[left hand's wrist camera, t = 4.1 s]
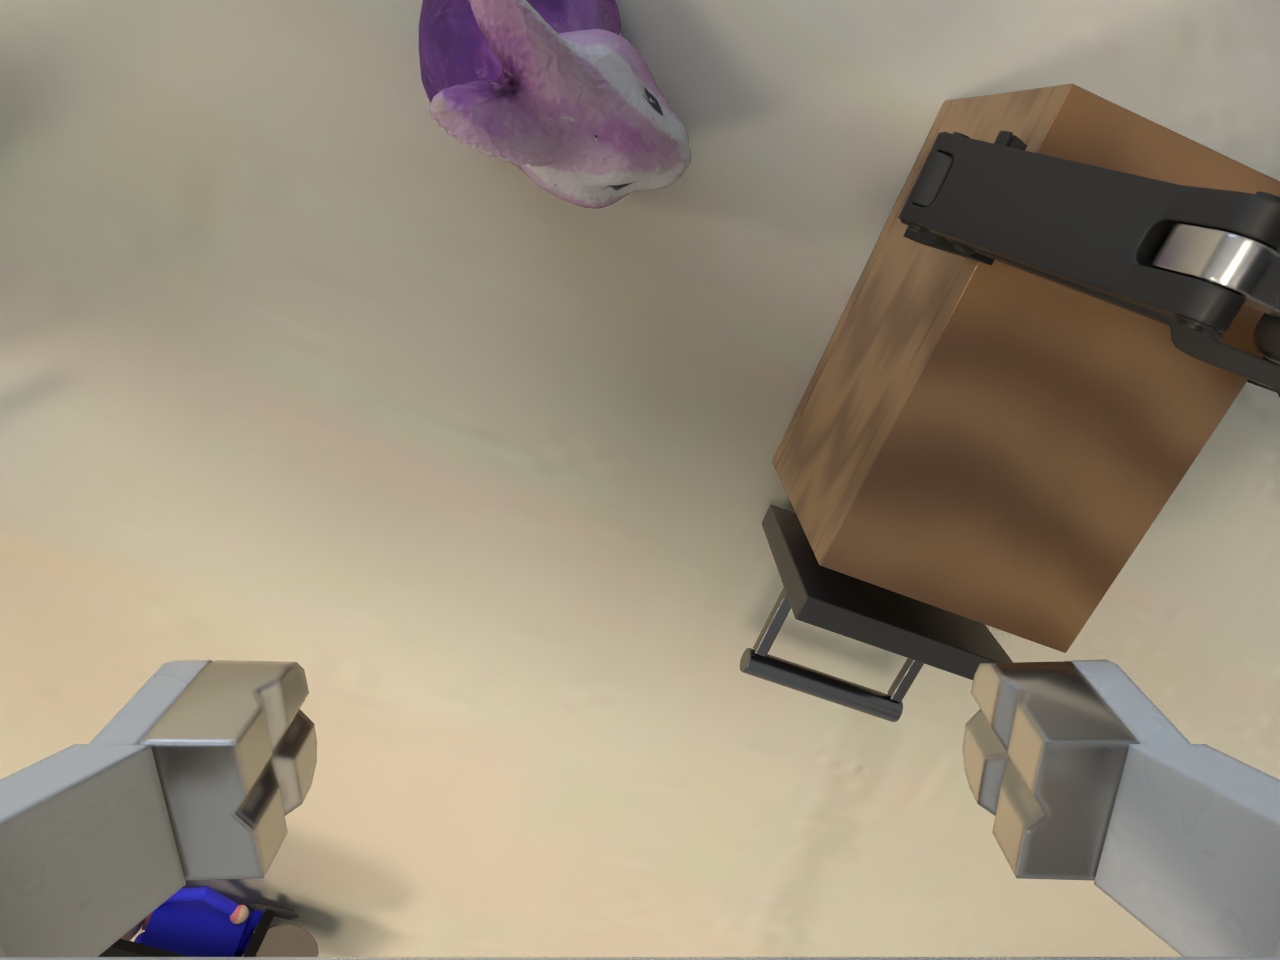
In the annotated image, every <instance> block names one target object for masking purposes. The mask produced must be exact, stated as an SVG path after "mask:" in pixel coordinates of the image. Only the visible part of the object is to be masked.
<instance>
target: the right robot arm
mask: <svg viewBox="0 0 1280 960" xmlns="http://www.w3.org/2000/svg"><path fill="white" fill-rule="evenodd" d="M1027 146H1028V145H1027V144H1024V142H1023V141H1022V140H1020V139H1019V138H1018V137H1017V136H1015V135H1013V133H1012V132H1009V131H999V133H998V135H997V137H996V139H995V141H994V143H989V142H985V141H980V140H976V139H971V138H970V137H968V136H966V135H964V134H961V133H958V132H953V134H950V133H947V132H939V133H938V135H937V137H936V139H935V141H934V143H933V145H932V147H931V149H930V152H929V154H928V156H927V158H926V160H925V162H924V164H923V166H922V168H921V170H920V172H919V175H918V177H917V179H916V181H915V183H914V185H913V187H912V189H911V191H910V193H909V195H908V198H907V200H906V202H905V204H904V206H903V208H902V210H901V212H900V214H899V216H898V218H899V219H900V220H901V221H900V222H901V223H903V224H906V225H908V227H907V229H906V231H905V233H904V235H903V236H904V237H906V238H908V239H911V240H913V241H915V242H918V243H920V244H923V245H926V246H929V247H933V248H936V249H939V250H943V251H946V252H949V253H952V254H956V255H959V256H962V257H965V258H969V259H972V260H975V261H979V262H982V263H985V264H988V265H992V264H993V262H994V260H997V261H1000V262H1002V263H1005V264H1008V265H1010V266H1013V267H1016V268H1018V269H1021V270H1024V271H1026V272H1029V273H1031V274H1034V275H1037V276H1039V277H1042V278H1045V279H1047V280H1050V281H1053V282H1055V283H1058V284H1060V285H1063V286H1066V287H1068V288H1071V289H1074V290H1076V291H1079V292H1082V293H1084V294H1087V295H1090V296H1092V297H1095V298H1097V299H1100V300H1103V301H1105V302H1108V303H1111V304H1113V305H1116V306H1119V307H1121V308H1124V309H1126V310H1129V311H1132V312H1134V313H1137V314H1140V315H1142V316H1145V317H1148V318H1150V319H1153V320H1156V321H1158V322H1161V323H1163V324H1166V325H1169V326H1170V331H1171V341H1172V342H1173V344H1174V345H1175V347H1176V348H1178V349H1179V350H1181V351H1182V352H1184V353H1186V354H1188V355H1190V356H1191V357H1193V358H1195V359H1198V360H1200V361H1203V362H1205V363H1208V364H1211V365H1213V366H1216V367H1218V368H1221V369H1223V370H1226V371H1228V372H1231V373H1233V374H1236V375H1238V376H1241V377H1243V378H1246V379H1248V381H1247V382H1249V383H1252V384H1255V385H1258V386H1260V387H1263V388H1266V389H1268V390H1271V391H1274V392H1277V393H1278V395H1279V397H1280V197H1278V196H1276V195H1273V194H1270V193H1266V192H1256V194H1251V193H1245V192H1237V191H1229V190H1220V189H1211V188H1202V187H1193V186H1184V185H1178V184H1173V183H1169V182H1165V181H1160V180H1156V179H1151V178H1147V177H1142V176H1138V175H1133V174H1129V173H1124V172H1120V171H1115V170H1111V169H1106V168H1102V167H1097V166H1093V165H1088V164H1084V163H1079V162H1075V161H1070V160H1066V159H1061V158H1057V157H1052V156H1048V155H1043V154H1039V153H1034V152H1030V151H1025V150H1026V148H1027ZM1243 305H1246V306H1249V307H1252V308H1254V309H1257V310H1259V311H1262V312H1264V314H1263V315H1262V317H1261V318H1260V320H1259V321H1258V323H1257V325H1256V327H1255V329H1254V332H1253V342H1254V345H1255V347H1256V349H1257V350H1258V351H1257V352H1258V353H1260V354H1261V355H1263V356H1264V357H1263V358H1261V357H1258V356H1255V355H1253V354H1250V353H1247V352H1245V351H1242V350H1239V349H1237V348H1234V347H1231V346H1229V345H1226V344H1224V342H1223V340H1222V337H1223V334H1224V333H1225V332H1226V331H1227V329H1228V328H1229V326H1230V324H1231V323H1232V321H1233V320H1234V318H1235V317H1236V315H1237V313H1238V312H1239V310H1240V309H1241V307H1242V306H1243Z"/></svg>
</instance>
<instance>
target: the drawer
mask: <svg viewBox="0 0 1280 960" xmlns="http://www.w3.org/2000/svg"><path fill="white" fill-rule="evenodd" d="M762 526H763V529H764V532H765V534H766V537H767V540H768V543H769V546H770V548H771V551H772V554H773V557H774V560H775V562H776V565H777V568H778V571H779V574H780V576H781V579H782V582H783V585H784V588H783V590H782V592H781V594H780V596H779V598H778V600H777V602H776V604H775V606H774V608H773V610H772V612H771V614H770V616H769V618H768V620H767V622H766V624H765V626H764V627H763V629H762V631H761V633H760V635H759V637H758V639H757V641H756V643H755V645H754V647H753V649H751V648H747V649H746V650H745V651H744V653H743V655H742V658H741V662H740V670H741V672H743V673H746V674H749V675H752V676H755V677H758V678H761V679H764V680H767V681H770V682H773V683H776V684H779V685H782V686H785V687H788V688H791V689H794V690H797V691H800V692H803V693H807V694H810V695H813V696H816V697H819V698H822V699H825V700H828V701H831V702H834V703H837V704H840V705H843V706H846V707H849V708H852V709H855V710H858V711H861V712H864V713H867V714H870V715H873V716H876V717H879V718H882V719H885V720H888V721H891V722H896V721H897V720H898V719H899V718H900V716H901V714H902V710H903V703H902V699H903V698H904V696H905V694H906V693H907V691H908V689H909V688H910V686H911V684H912V683H913V681H914V679H915V678H916V676H917V674H918V673H919V671H920V669H921V668H922V666H923V664H924V663H925V664H928V665H931V666H933V667H936V668H939V669H942V670H945V671H948V672H951V673H954V674H957V675H960V676H962V677H965V678H968V679H971V680H974V675H975V673H976V671H977V669H978V667H979V664H980V663H1013V662H1012V660H1011V659H1010V658H1009V656H1008V655H1007V654H1006V652H1005V651H1004V650H1003V648H1002V647H1001V646H1000V644H999V643H998V642H997V640H996V639H995V638H994V636H993V635H992V634H991V632H990V631H989V630H988V628H987V627H986V625H985V624H983V623H980V622H977V621H975V620H972V619H969V618H966V617H963V616H961V615H958V614H955V613H952V612H949V611H947V610H944V609H941V608H938V607H935V606H933V605H930V604H927V603H924V602H921V601H919V600H916V599H913V598H910V597H907V596H905V595H902V594H899V593H896V592H893V591H891V590H888V589H885V588H882V587H879V586H877V585H874V584H871V583H868V582H865V581H863V580H860V579H857V578H854V577H851V576H849V575H846V574H843V573H840V572H837V571H835V570H832V569H829V568H826V567H823V566H820V565H819V563H818V561H817V559H816V557H815V554H814V552H813V550H812V547H811V545H810V543H809V541H808V539H807V536H806V534H805V532H804V530H803V528H802V526H801V523H800V521H799V519H798V517H797V515H796V513H793V512H790V511H788V510H785V509H782V508H779V507H777V506H774V505H770V507H769V509H768V511H767V513H766V515H765V518H764V520H763V522H762ZM791 607H792V610H793V613H794V616H795V618H796V619H797V620H800V621H803V622H806V623H809V624H812V625H815V626H818V627H820V628H823V629H826V630H829V631H832V632H835V633H838V634H841V635H844V636H847V637H849V638H852V639H855V640H858V641H861V642H864V643H867V644H870V645H873V646H876V647H878V648H881V649H884V650H887V651H890V652H893V653H896V654H899V655H902V656H904V657H907V658H908V659H907V660H906V662H905V664H904V665H903V667H902V669H901V670H900V672H899V674H898V675H897V677H896V679H895V681H894V682H893V684H892V686H891V687H890V689H889V691H888V694H885V693H882V692H879V691H876V690H873V689H870V688H867V687H864V686H861V685H858V684H855V683H852V682H849V681H846V680H843V679H840V678H837V677H834V676H831V675H828V674H825V673H822V672H819V671H816V670H813V669H810V668H807V667H804V666H802V665H799V664H796V663H793V662H790V661H787V660H784V659H781V658H778V657H775V656H772V655H769V654H767V653H768V651H769V649H770V647H771V645H772V643H773V642H774V640H775V638H776V636H777V634H778V632H779V630H780V628H781V626H782V624H783V622H784V620H785V619H786V617H787V615H788V613H789V611H790V609H791Z"/></svg>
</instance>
